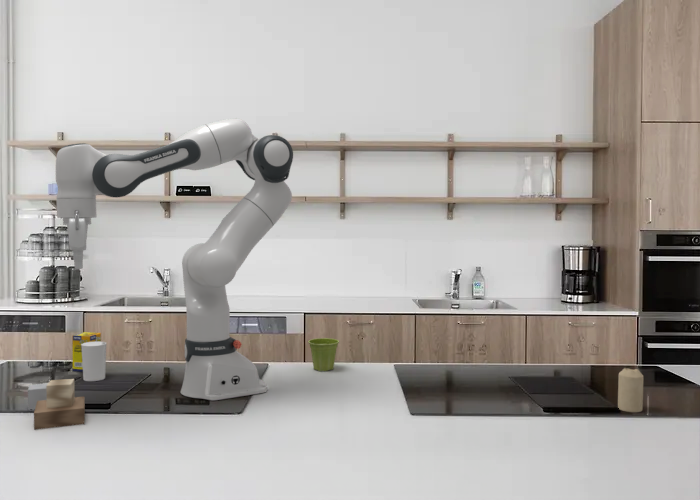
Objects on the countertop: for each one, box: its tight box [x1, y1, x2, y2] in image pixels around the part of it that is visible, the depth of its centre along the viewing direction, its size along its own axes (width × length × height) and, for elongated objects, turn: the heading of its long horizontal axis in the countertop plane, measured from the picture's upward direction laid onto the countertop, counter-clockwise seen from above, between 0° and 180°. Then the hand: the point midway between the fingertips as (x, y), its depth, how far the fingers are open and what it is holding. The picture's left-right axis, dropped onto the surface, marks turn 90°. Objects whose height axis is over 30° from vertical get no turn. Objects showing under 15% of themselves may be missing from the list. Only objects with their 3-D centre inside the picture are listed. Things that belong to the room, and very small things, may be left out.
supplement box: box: [71, 331, 102, 373], centre depth 188 cm, size 6×6×11 cm
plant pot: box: [307, 337, 340, 372], centre depth 191 cm, size 9×9×9 cm
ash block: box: [46, 378, 76, 408], centre depth 141 cm, size 5×5×5 cm
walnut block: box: [33, 395, 86, 430], centre depth 141 cm, size 10×10×4 cm
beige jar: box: [617, 367, 644, 413], centre depth 152 cm, size 6×6×10 cm
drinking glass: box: [81, 341, 107, 382], centre depth 178 cm, size 7×7×10 cm
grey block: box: [27, 382, 49, 411], centre depth 151 cm, size 5×5×5 cm
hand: (78, 267), depth 153 cm, fingers open, 8 cm apart
